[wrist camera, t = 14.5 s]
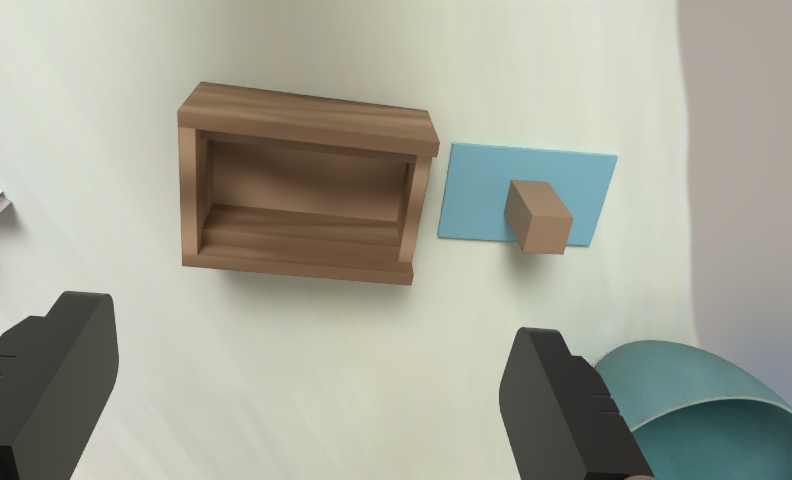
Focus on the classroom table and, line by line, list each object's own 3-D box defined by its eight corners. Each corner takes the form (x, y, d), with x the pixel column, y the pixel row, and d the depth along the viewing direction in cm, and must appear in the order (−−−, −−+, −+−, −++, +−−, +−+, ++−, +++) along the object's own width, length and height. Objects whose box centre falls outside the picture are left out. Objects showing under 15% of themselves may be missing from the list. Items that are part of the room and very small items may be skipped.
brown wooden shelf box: (200, 81, 40) (177, 110, 35) (427, 110, 43) (439, 142, 37) (202, 221, 46) (182, 265, 40) (403, 240, 48) (411, 285, 42)
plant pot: (650, 454, 64) (710, 563, 53) (508, 412, 59) (543, 524, 48) (764, 332, 56) (861, 432, 46) (612, 273, 51) (681, 369, 41)
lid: (451, 140, 44) (467, 177, 39) (613, 153, 46) (652, 190, 40) (436, 232, 48) (449, 278, 42) (586, 240, 50) (618, 286, 44)
